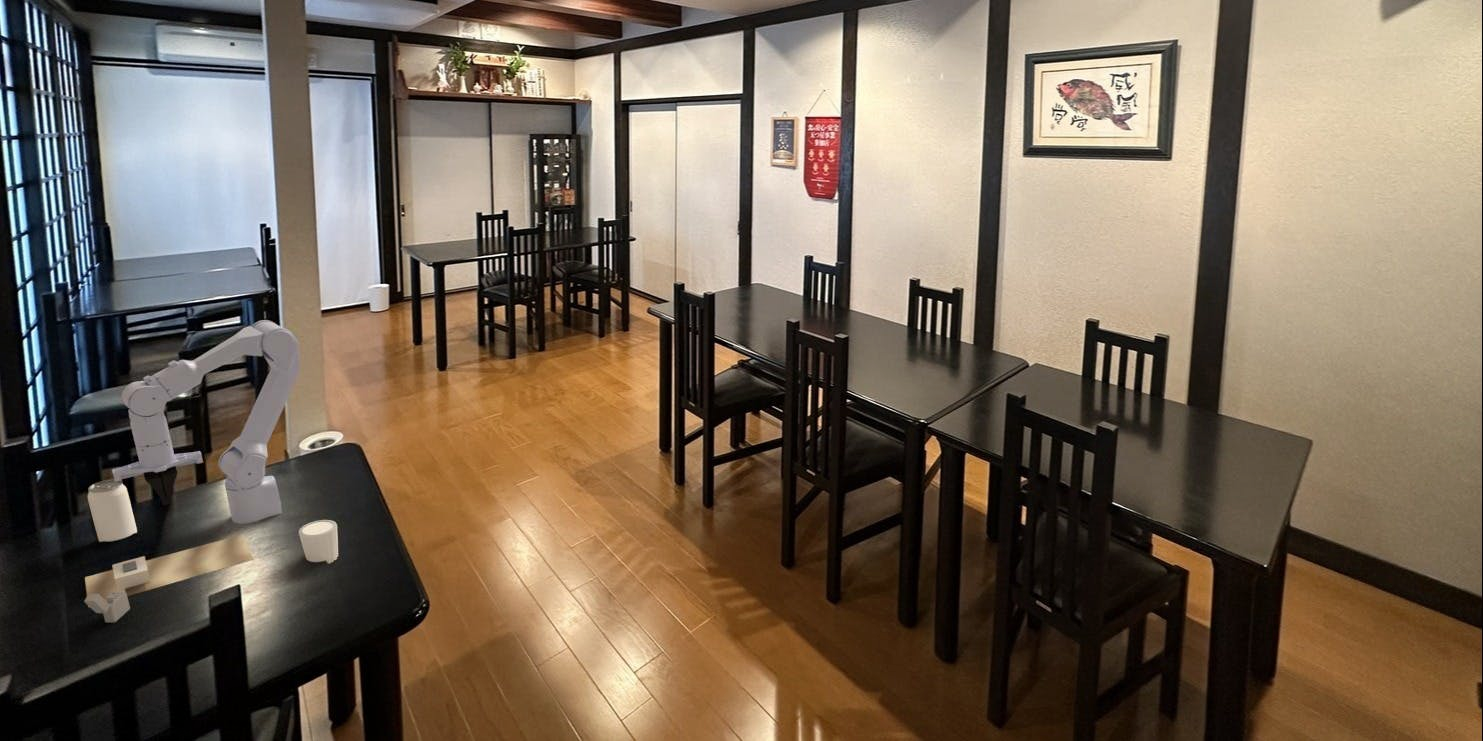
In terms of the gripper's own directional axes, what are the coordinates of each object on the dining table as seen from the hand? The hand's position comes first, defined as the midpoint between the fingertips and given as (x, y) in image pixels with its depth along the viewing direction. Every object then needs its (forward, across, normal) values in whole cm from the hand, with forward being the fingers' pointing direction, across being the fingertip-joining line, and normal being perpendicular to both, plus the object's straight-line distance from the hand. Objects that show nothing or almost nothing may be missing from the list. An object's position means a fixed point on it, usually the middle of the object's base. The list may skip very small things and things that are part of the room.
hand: (167, 502), depth 164 cm
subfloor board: (+9, -2, -12) cm, 15 cm away
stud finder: (+8, -8, -12) cm, 17 cm away
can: (+10, -9, +10) cm, 17 cm away
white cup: (+10, +22, -24) cm, 34 cm away
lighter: (+10, -12, -25) cm, 29 cm away
